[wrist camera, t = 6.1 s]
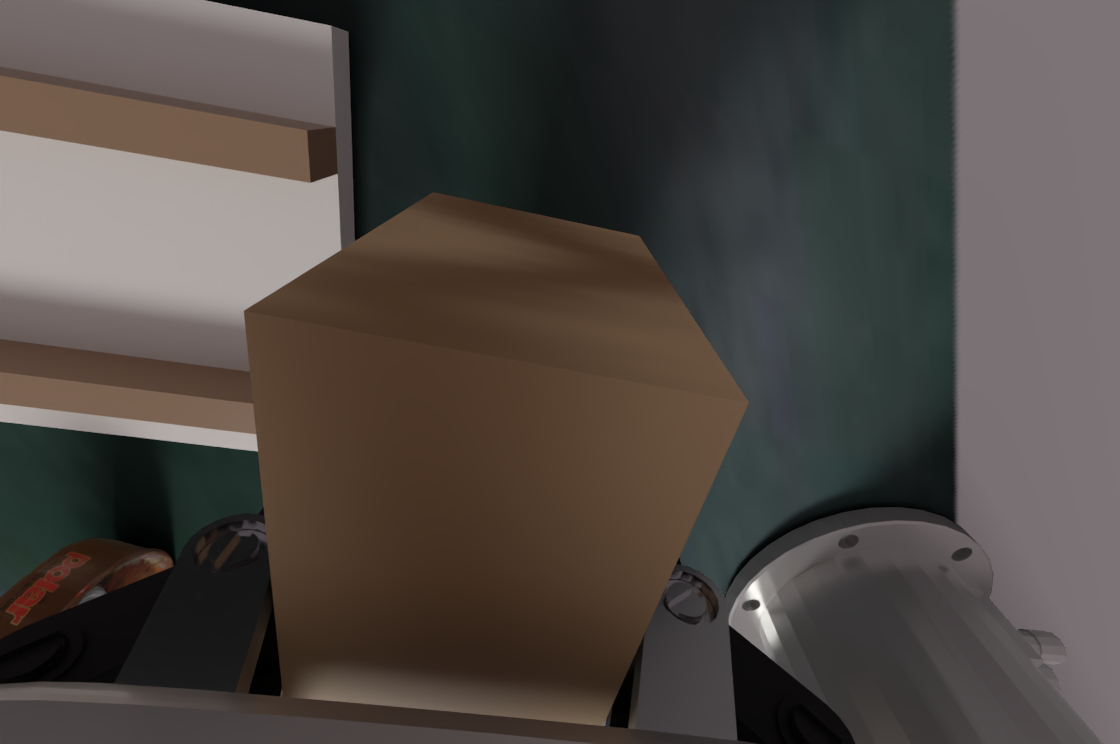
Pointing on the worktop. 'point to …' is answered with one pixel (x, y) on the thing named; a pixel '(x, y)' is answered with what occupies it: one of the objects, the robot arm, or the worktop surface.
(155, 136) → the cradle
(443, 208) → the oak block
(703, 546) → the worktop surface
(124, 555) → the tin
